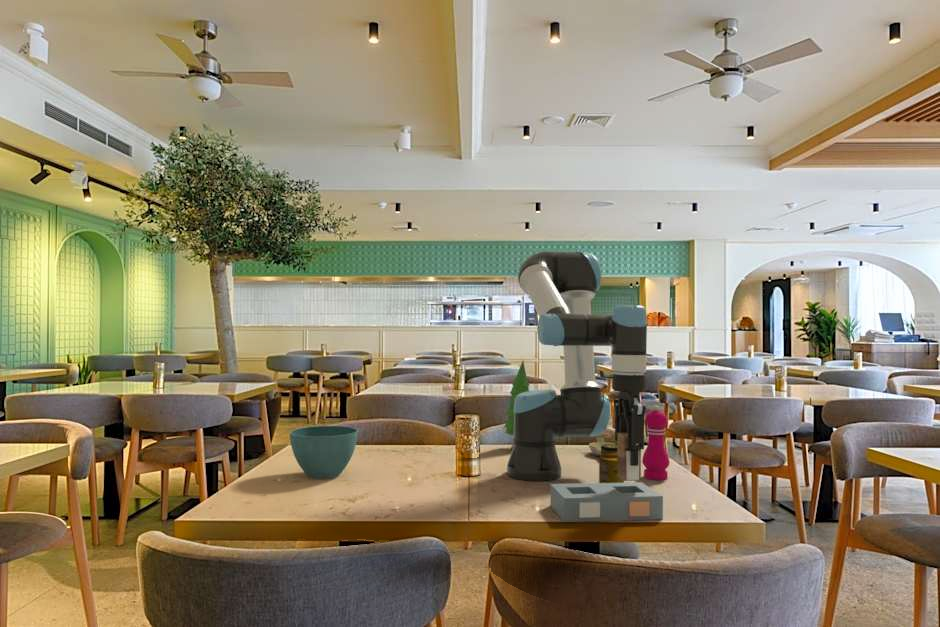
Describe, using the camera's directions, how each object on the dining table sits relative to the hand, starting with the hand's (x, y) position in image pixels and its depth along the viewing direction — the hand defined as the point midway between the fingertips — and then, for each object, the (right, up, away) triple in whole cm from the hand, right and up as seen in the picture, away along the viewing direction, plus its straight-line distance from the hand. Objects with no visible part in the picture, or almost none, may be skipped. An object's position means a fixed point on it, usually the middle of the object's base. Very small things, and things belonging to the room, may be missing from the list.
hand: (628, 476), depth 143 cm
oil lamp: (+7, -9, +61) cm, 62 cm away
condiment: (-1, -8, +15) cm, 17 cm away
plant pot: (-76, -8, +31) cm, 82 cm away
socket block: (-6, -8, -1) cm, 10 cm away
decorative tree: (-20, -9, +70) cm, 73 cm away
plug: (0, 0, 0) cm, 0 cm away
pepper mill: (+16, -9, +33) cm, 37 cm away
